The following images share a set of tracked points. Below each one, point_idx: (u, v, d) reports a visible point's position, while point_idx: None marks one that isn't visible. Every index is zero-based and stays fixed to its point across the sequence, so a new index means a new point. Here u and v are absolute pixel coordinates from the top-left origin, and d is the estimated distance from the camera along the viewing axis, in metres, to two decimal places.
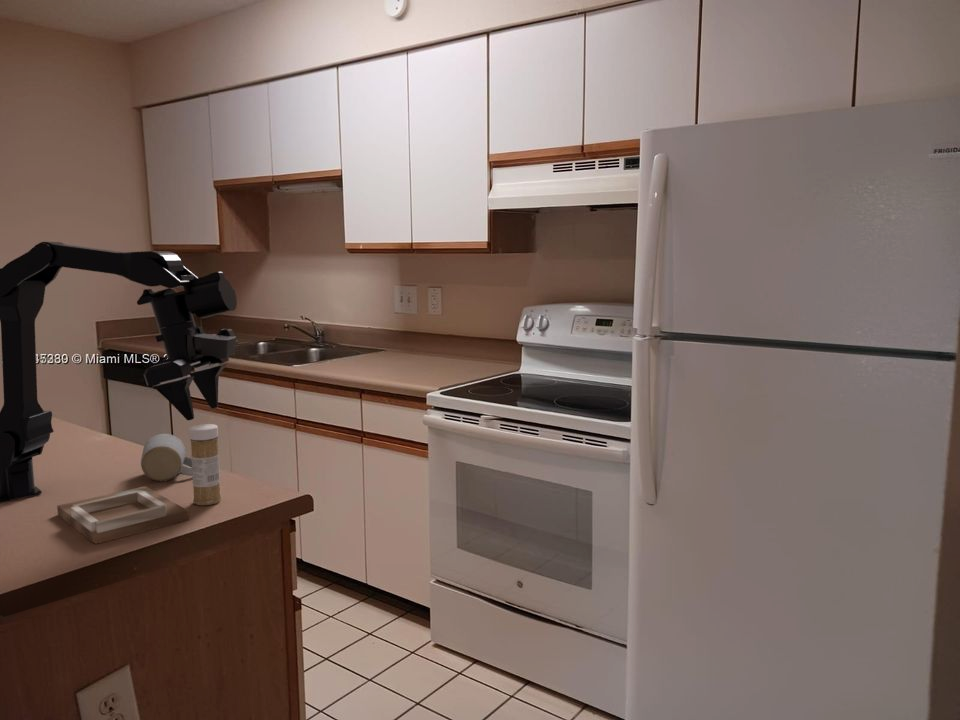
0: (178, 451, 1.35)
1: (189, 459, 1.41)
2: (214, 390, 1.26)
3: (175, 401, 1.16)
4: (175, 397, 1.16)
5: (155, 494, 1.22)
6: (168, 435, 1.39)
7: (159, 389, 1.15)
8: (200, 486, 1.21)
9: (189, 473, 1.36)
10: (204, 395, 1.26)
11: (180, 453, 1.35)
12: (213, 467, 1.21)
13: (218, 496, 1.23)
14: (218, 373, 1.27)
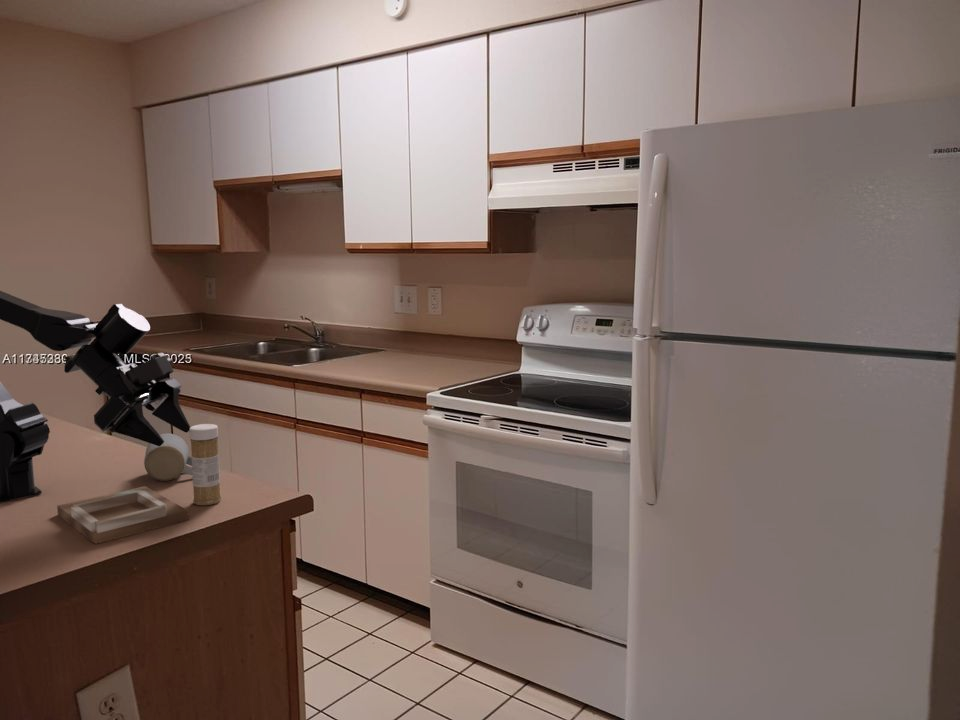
0: (181, 451, 1.35)
1: None
2: (179, 415, 1.26)
3: (138, 434, 1.16)
4: (136, 430, 1.16)
5: (155, 494, 1.22)
6: (171, 435, 1.39)
7: (118, 430, 1.16)
8: (200, 486, 1.21)
9: None
10: (174, 424, 1.27)
11: (183, 453, 1.35)
12: (213, 467, 1.21)
13: (218, 496, 1.23)
14: (175, 399, 1.27)
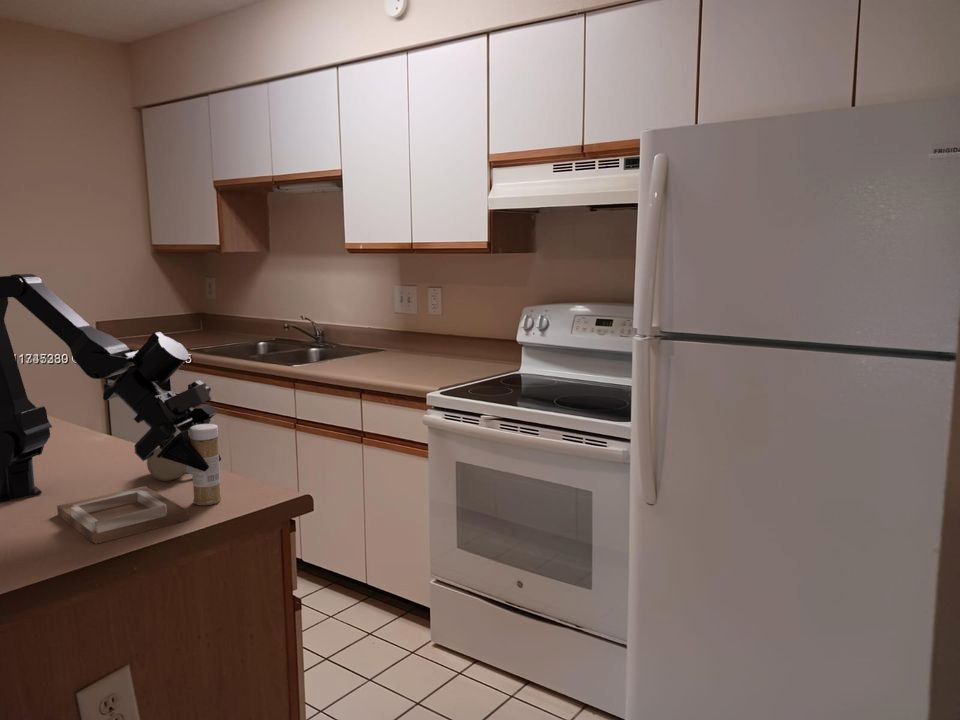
0: None
1: None
2: None
3: (184, 459, 1.19)
4: (182, 456, 1.19)
5: (155, 494, 1.22)
6: None
7: (164, 456, 1.18)
8: (200, 486, 1.21)
9: None
10: None
11: None
12: (213, 467, 1.21)
13: (218, 496, 1.23)
14: None
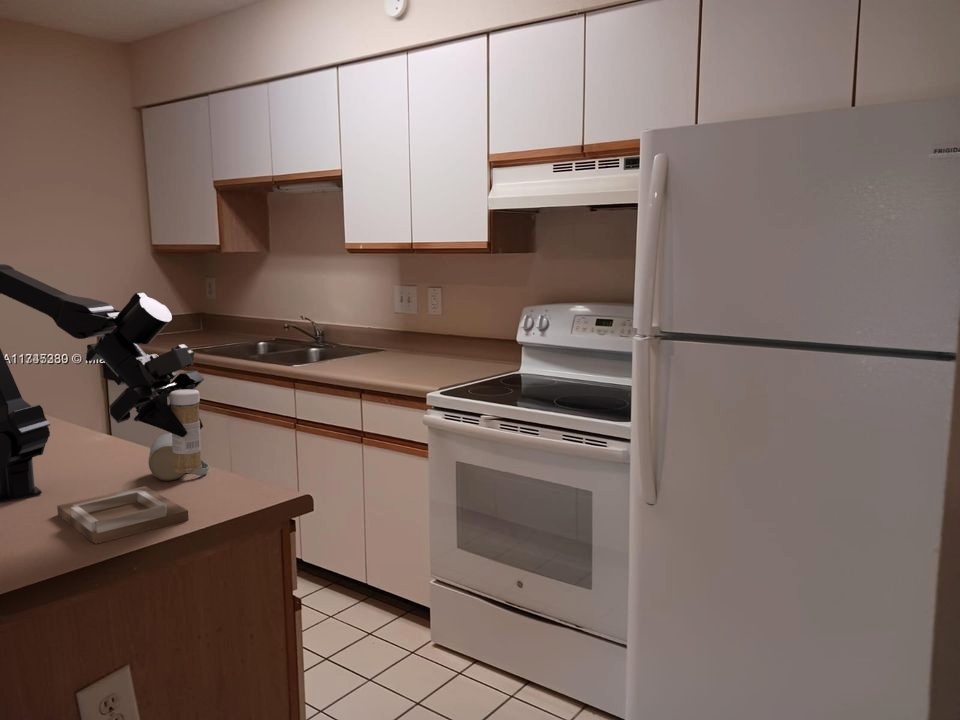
0: None
1: None
2: None
3: (162, 424, 1.15)
4: (160, 420, 1.15)
5: (155, 494, 1.22)
6: None
7: (142, 419, 1.15)
8: (178, 453, 1.17)
9: (196, 472, 1.36)
10: None
11: None
12: (192, 434, 1.18)
13: (198, 464, 1.19)
14: None
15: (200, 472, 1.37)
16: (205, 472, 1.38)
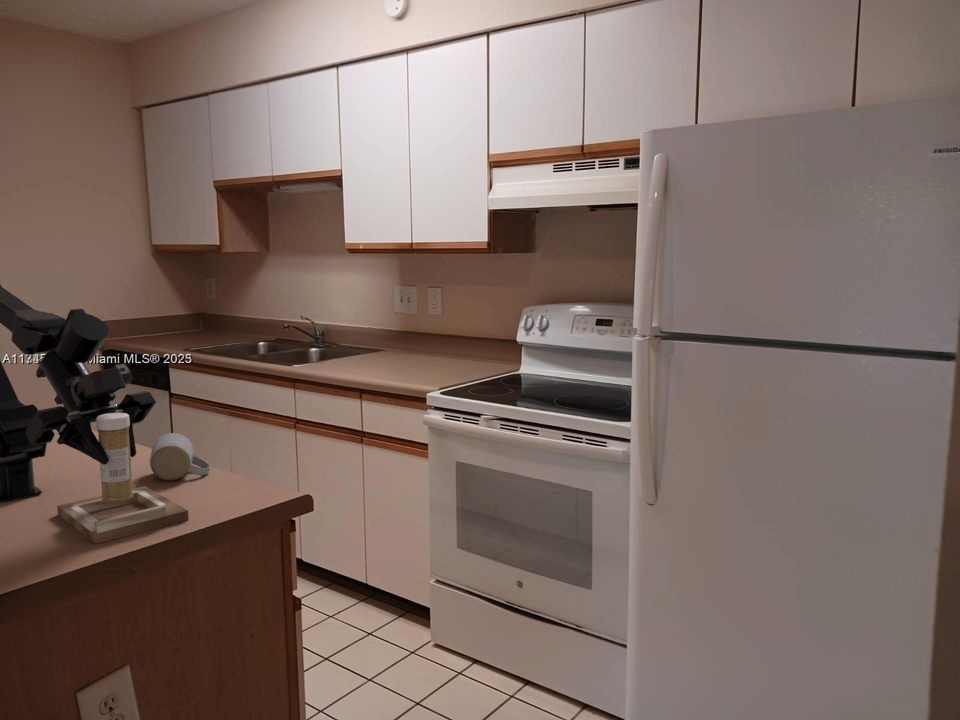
0: (187, 450, 1.35)
1: (197, 458, 1.41)
2: None
3: (85, 449, 1.09)
4: (83, 445, 1.09)
5: (155, 494, 1.22)
6: (177, 434, 1.39)
7: (67, 443, 1.09)
8: (103, 481, 1.10)
9: (197, 472, 1.36)
10: None
11: (189, 452, 1.36)
12: (116, 462, 1.09)
13: (125, 494, 1.11)
14: None
15: (202, 472, 1.37)
16: (206, 472, 1.38)
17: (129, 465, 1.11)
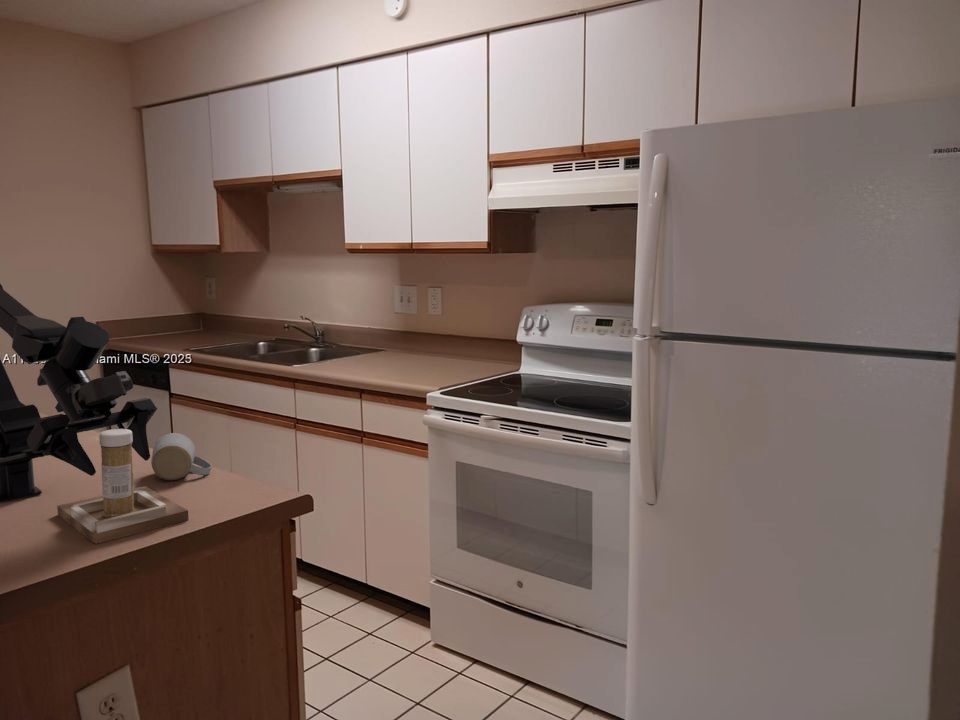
0: (188, 450, 1.35)
1: (199, 458, 1.41)
2: (140, 441, 1.15)
3: (71, 460, 1.07)
4: (70, 456, 1.07)
5: (155, 494, 1.22)
6: (178, 434, 1.39)
7: (53, 454, 1.07)
8: (105, 497, 1.10)
9: (199, 472, 1.36)
10: (136, 450, 1.16)
11: (190, 452, 1.36)
12: (119, 478, 1.10)
13: (127, 510, 1.11)
14: (141, 422, 1.16)
15: (203, 472, 1.37)
16: (208, 472, 1.38)
17: (131, 481, 1.12)
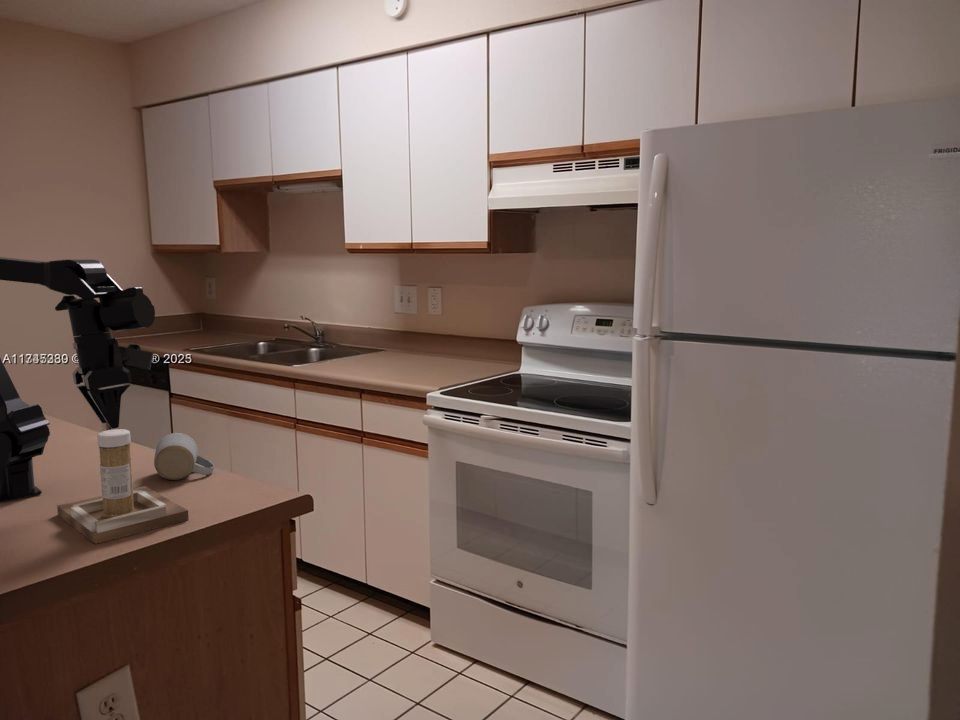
0: (191, 450, 1.36)
1: (201, 458, 1.41)
2: None
3: (105, 408, 1.16)
4: (106, 404, 1.16)
5: (155, 494, 1.22)
6: (181, 434, 1.39)
7: (93, 395, 1.14)
8: (104, 497, 1.10)
9: (201, 472, 1.37)
10: (95, 409, 1.24)
11: (193, 452, 1.36)
12: (118, 478, 1.10)
13: (126, 510, 1.11)
14: None
15: (206, 472, 1.37)
16: (210, 472, 1.38)
17: (130, 481, 1.12)
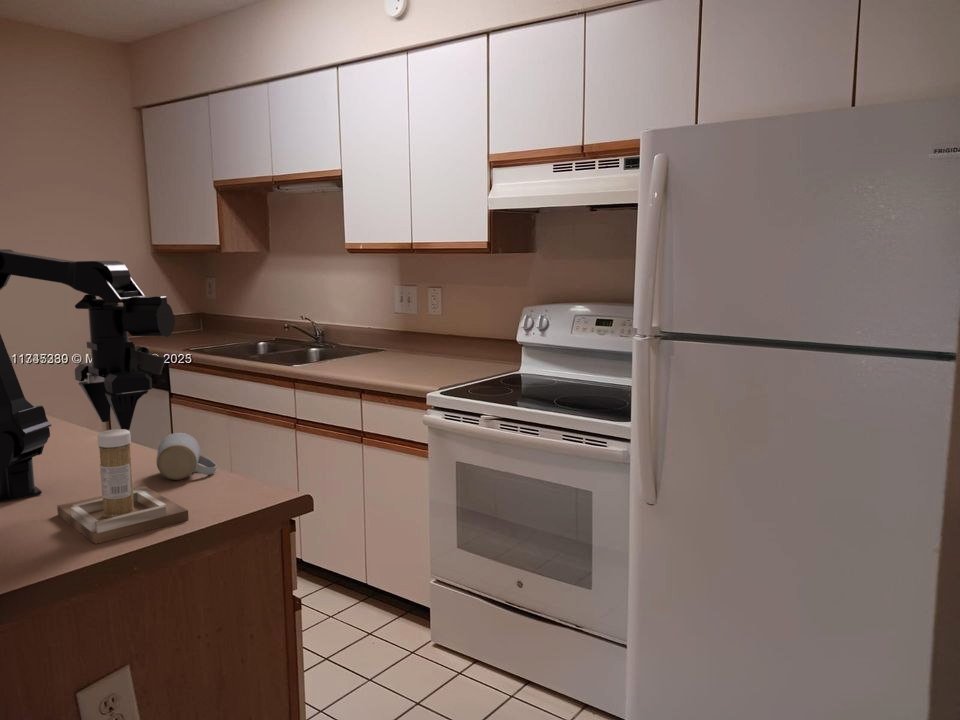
0: (193, 450, 1.36)
1: (204, 458, 1.41)
2: (109, 404, 1.26)
3: (121, 411, 1.17)
4: (122, 407, 1.17)
5: (155, 494, 1.22)
6: (183, 434, 1.40)
7: (112, 398, 1.15)
8: (104, 497, 1.10)
9: (204, 471, 1.37)
10: (97, 408, 1.24)
11: (195, 452, 1.36)
12: (118, 478, 1.10)
13: (127, 510, 1.11)
14: None
15: (208, 472, 1.37)
16: (213, 471, 1.39)
17: (130, 481, 1.12)
